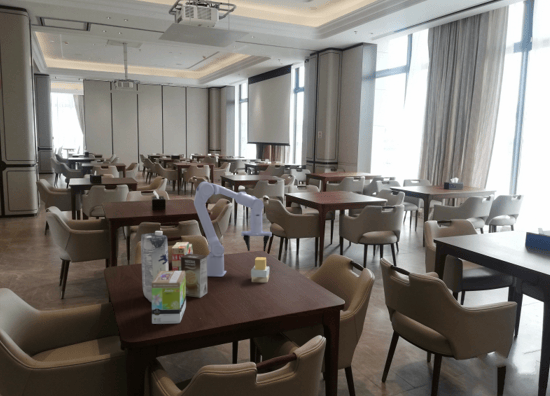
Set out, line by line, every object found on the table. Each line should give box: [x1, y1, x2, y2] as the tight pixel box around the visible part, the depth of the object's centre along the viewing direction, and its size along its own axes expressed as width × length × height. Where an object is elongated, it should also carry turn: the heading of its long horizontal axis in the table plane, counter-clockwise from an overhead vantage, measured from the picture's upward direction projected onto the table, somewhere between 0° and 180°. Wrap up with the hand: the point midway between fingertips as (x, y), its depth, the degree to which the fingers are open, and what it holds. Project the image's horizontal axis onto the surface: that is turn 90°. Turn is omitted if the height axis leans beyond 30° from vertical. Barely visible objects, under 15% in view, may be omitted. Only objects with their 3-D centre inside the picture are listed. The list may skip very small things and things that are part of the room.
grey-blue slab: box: [250, 265, 270, 278], centre depth 197 cm, size 7×7×3 cm
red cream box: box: [171, 241, 194, 271], centre depth 219 cm, size 21×6×12 cm, turn 0°
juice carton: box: [140, 230, 170, 303], centre depth 173 cm, size 9×10×27 cm
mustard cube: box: [254, 256, 267, 270], centre depth 196 cm, size 4×4×4 cm
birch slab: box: [251, 273, 270, 283], centre depth 197 cm, size 7×7×3 cm
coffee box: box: [181, 253, 208, 298], centre depth 178 cm, size 9×6×16 cm
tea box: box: [151, 270, 187, 325], centre depth 155 cm, size 15×10×15 cm
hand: (256, 250), depth 211 cm, fingers open, 7 cm apart
